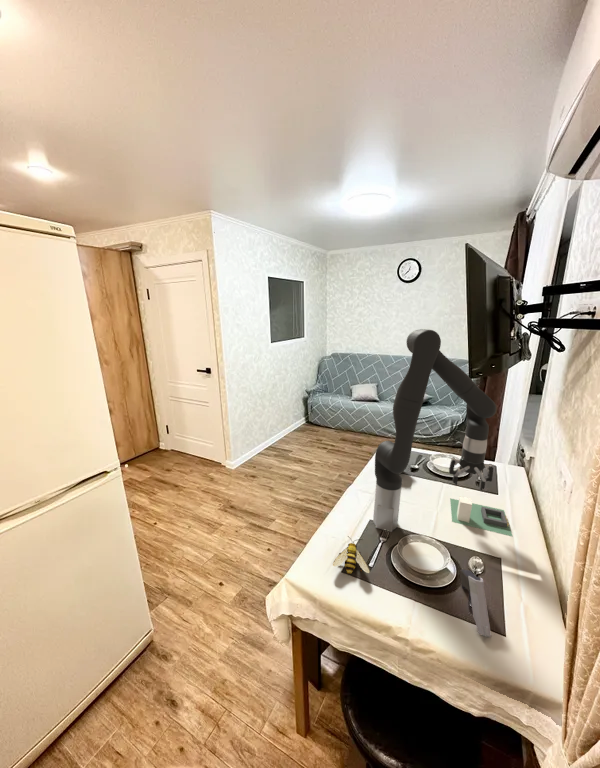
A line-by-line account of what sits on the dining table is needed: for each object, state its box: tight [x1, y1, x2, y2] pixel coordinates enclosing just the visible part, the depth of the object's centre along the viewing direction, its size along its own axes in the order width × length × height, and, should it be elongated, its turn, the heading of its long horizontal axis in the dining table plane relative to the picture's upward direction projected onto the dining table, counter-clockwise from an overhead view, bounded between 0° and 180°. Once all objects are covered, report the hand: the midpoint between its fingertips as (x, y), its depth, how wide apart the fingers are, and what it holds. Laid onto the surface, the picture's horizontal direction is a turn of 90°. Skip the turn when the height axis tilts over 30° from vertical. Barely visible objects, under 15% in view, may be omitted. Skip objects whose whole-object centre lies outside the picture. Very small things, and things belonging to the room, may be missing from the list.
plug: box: [457, 496, 473, 523], centre depth 122 cm, size 5×4×8 cm
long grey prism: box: [459, 568, 492, 638], centre depth 88 cm, size 4×15×12 cm
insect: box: [332, 536, 370, 576], centre depth 103 cm, size 11×15×5 cm
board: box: [449, 498, 513, 537], centre depth 124 cm, size 16×20×3 cm
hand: (467, 486), depth 119 cm, fingers open, 8 cm apart
